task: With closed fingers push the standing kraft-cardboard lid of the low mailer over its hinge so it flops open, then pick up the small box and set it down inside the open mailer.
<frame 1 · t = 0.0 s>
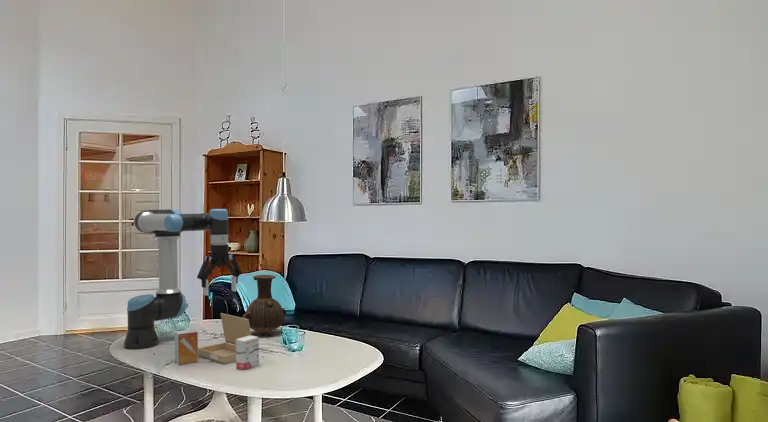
hand: (220, 293, 238), 28 cm above the table, fingers open, 13 cm apart
vase: (264, 334, 283), on the table
lid: (236, 331, 244), point 10 cm above the table, hinge at 80.0°
ink box: (247, 367, 224), on the table
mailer: (224, 356, 240), on the table
small box: (186, 362, 232), on the table
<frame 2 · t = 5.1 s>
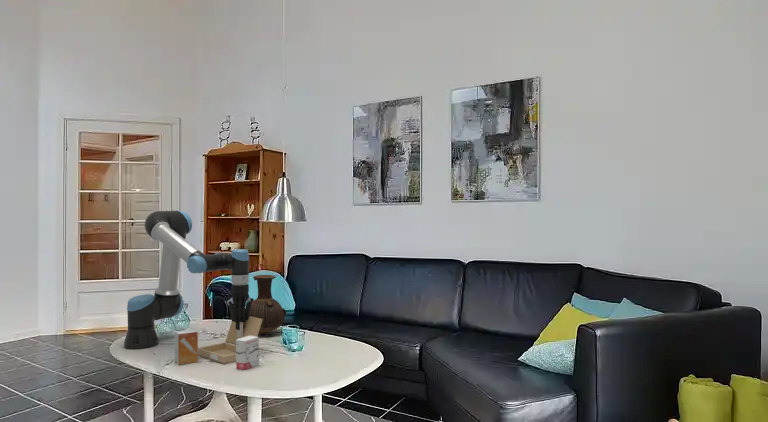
hand: (240, 336, 246), 7 cm above the table, fingers closed
lid: (243, 330, 247), point 10 cm above the table, hinge at 111.9°, touching gripper
everything else where it was.
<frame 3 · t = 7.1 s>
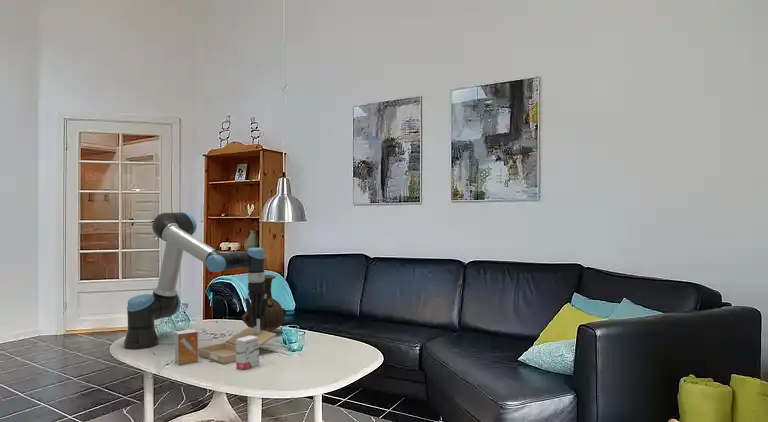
hand: (257, 332, 252), 7 cm above the table, fingers closed
lid: (250, 338, 250), point 6 cm above the table, hinge at 160.2°, touching gripper
everything else where it was.
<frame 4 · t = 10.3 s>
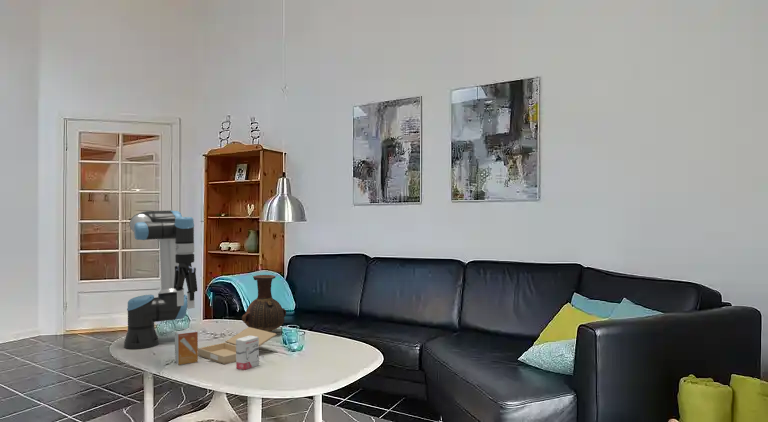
hand: (185, 306, 232), 23 cm above the table, fingers open, 8 cm apart
lid: (250, 338, 250), point 6 cm above the table, hinge at 160.2°
everything else where it was.
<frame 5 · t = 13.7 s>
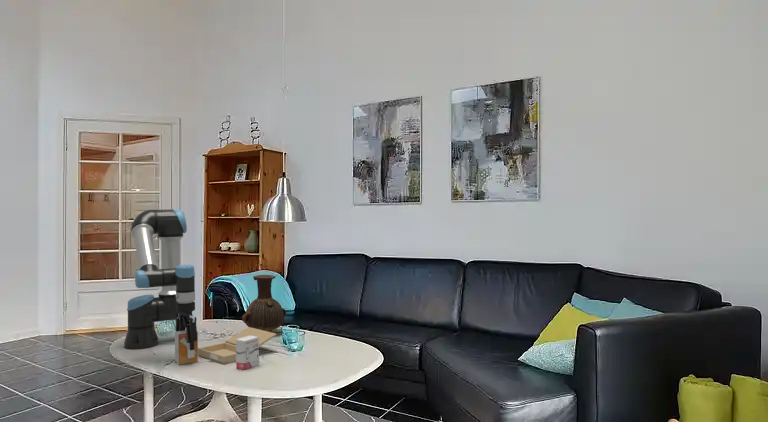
hand: (186, 355, 232), 3 cm above the table, fingers closed on small box, 7 cm apart
small box: (186, 362, 232), on the table, touching gripper
everything else where it was.
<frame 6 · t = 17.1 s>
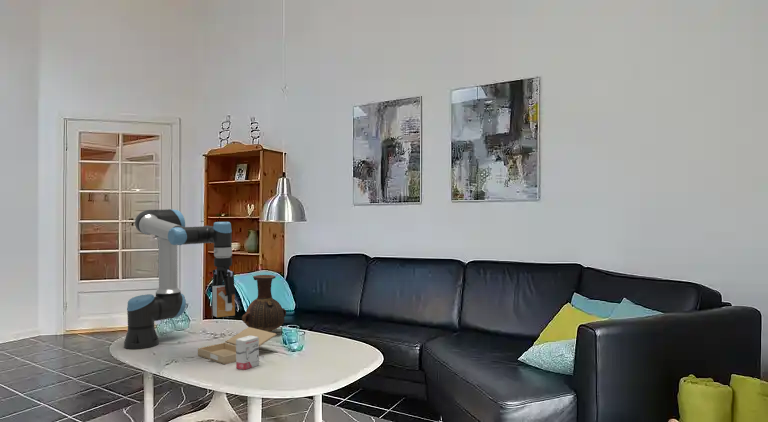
hand: (223, 309, 240), 21 cm above the table, fingers closed on small box, 7 cm apart
small box: (223, 316, 240), point 18 cm above the table, touching gripper
everything else where it was.
when the fingers open (5 cm above the table, at t = 20.6 s): small box drops 1 cm, resting on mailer.
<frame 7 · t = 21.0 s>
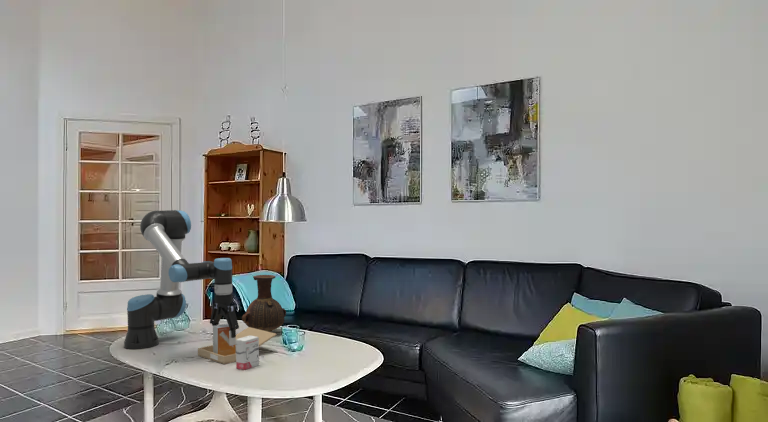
hand: (224, 342, 240), 6 cm above the table, fingers open, 12 cm apart
small box: (224, 355, 240), resting on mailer
everything else where it was.
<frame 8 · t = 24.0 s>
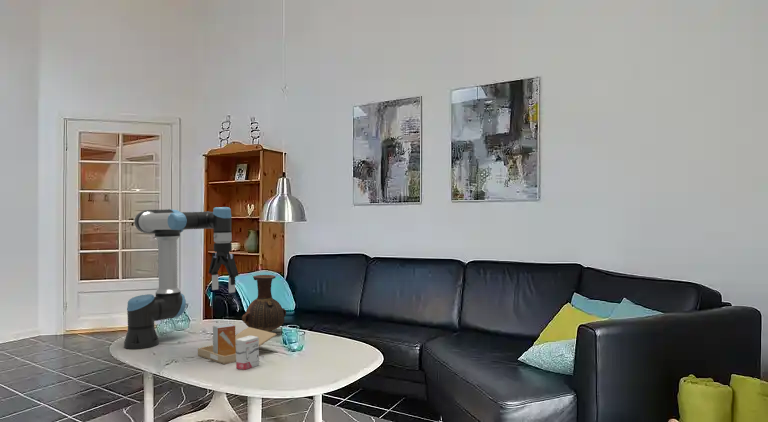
hand: (223, 291, 240), 29 cm above the table, fingers open, 13 cm apart
nothing on the table moved.
at the end: lid at +160° (first picture: +80°); small box inside the target area on the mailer (0.1 cm from its centre), point 0.4 cm above the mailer's base; small box tilted 0° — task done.
